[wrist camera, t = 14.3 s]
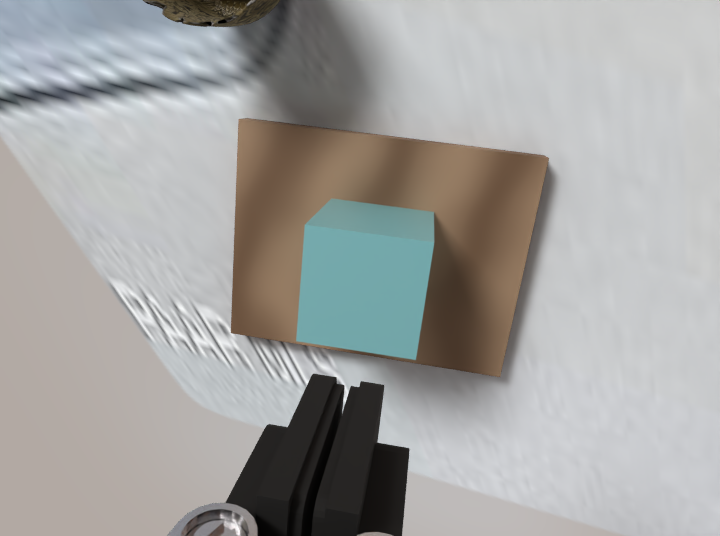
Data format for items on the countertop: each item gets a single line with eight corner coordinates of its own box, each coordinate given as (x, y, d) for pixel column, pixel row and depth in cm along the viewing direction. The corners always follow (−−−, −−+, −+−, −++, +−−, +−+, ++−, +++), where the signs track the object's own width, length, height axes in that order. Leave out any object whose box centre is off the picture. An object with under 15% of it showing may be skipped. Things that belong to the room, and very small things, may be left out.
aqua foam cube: (434, 211, 31) (434, 242, 25) (419, 307, 33) (415, 359, 26) (331, 198, 32) (304, 224, 25) (322, 293, 34) (296, 341, 27)
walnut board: (543, 155, 31) (548, 158, 29) (497, 365, 35) (499, 376, 34) (247, 118, 32) (238, 119, 31) (238, 324, 37) (230, 333, 35)
